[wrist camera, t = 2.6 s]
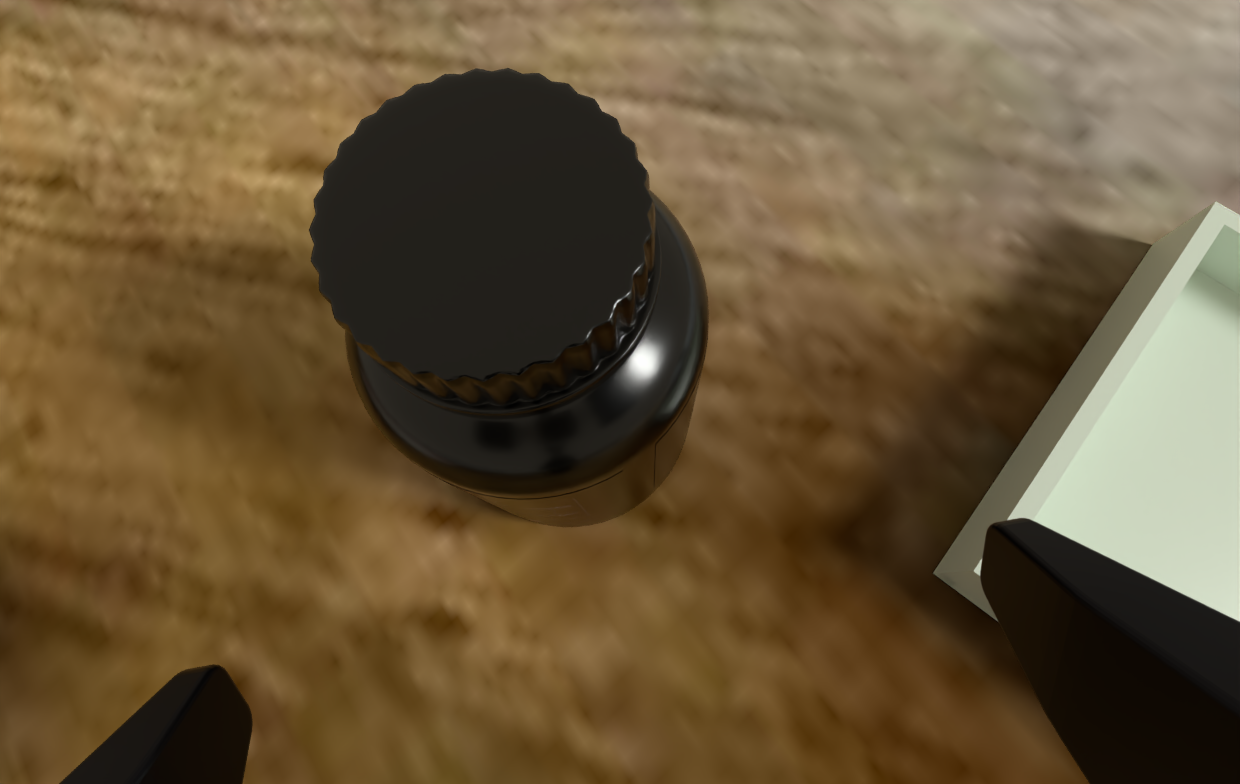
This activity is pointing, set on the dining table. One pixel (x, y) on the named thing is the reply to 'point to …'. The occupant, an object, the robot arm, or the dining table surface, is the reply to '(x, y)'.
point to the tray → (1141, 430)
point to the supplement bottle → (513, 295)
